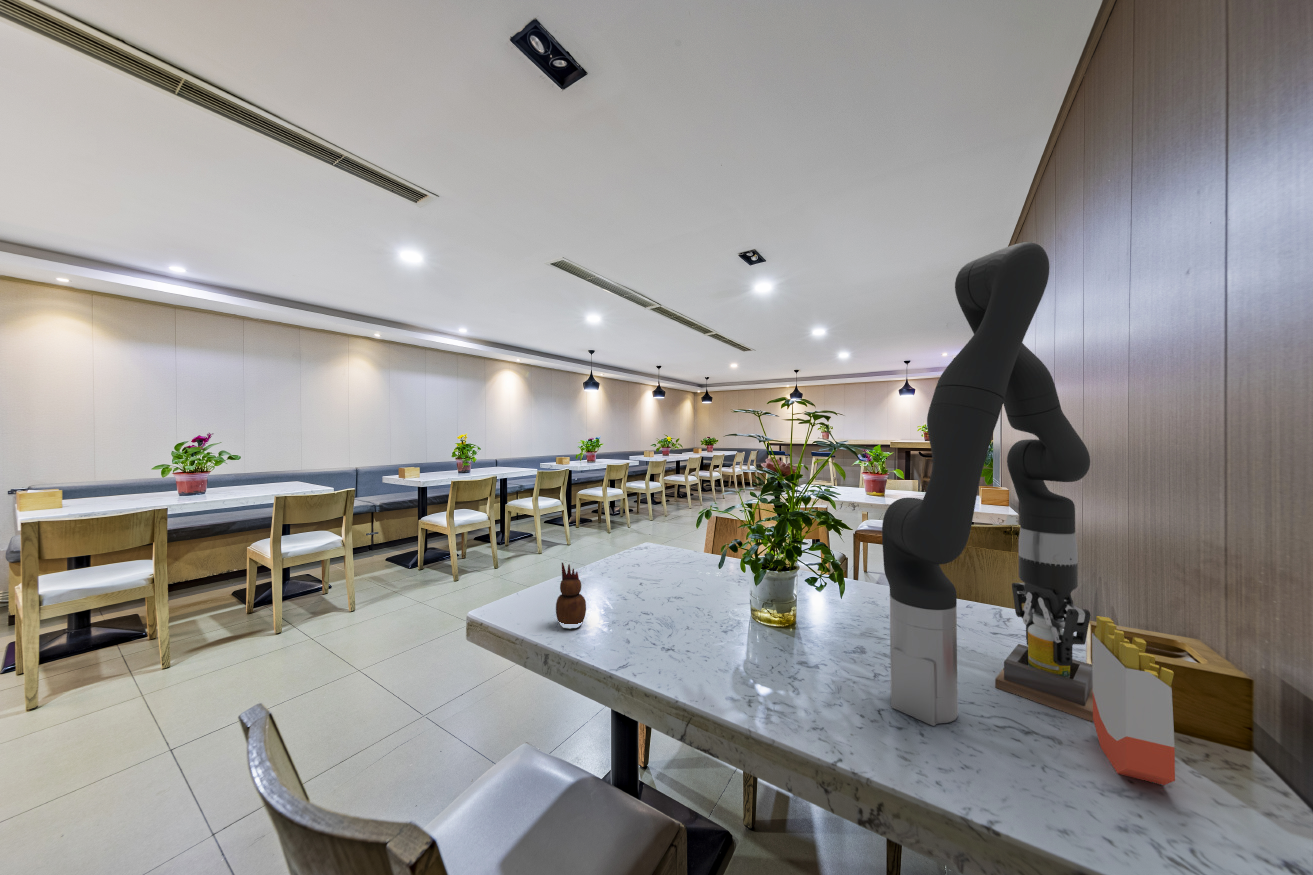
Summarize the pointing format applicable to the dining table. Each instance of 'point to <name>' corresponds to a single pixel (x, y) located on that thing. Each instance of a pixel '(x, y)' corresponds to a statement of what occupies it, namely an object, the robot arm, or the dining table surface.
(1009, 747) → the dining table surface
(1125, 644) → the french fries container
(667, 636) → the dining table surface
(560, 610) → the wooden figurine
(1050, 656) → the supplement bottle
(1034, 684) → the collar stand
